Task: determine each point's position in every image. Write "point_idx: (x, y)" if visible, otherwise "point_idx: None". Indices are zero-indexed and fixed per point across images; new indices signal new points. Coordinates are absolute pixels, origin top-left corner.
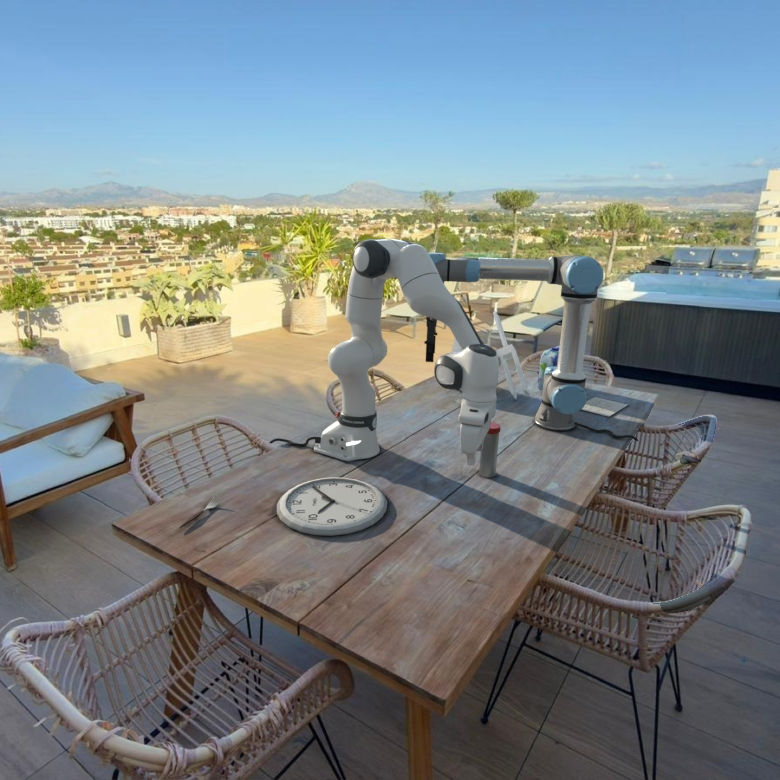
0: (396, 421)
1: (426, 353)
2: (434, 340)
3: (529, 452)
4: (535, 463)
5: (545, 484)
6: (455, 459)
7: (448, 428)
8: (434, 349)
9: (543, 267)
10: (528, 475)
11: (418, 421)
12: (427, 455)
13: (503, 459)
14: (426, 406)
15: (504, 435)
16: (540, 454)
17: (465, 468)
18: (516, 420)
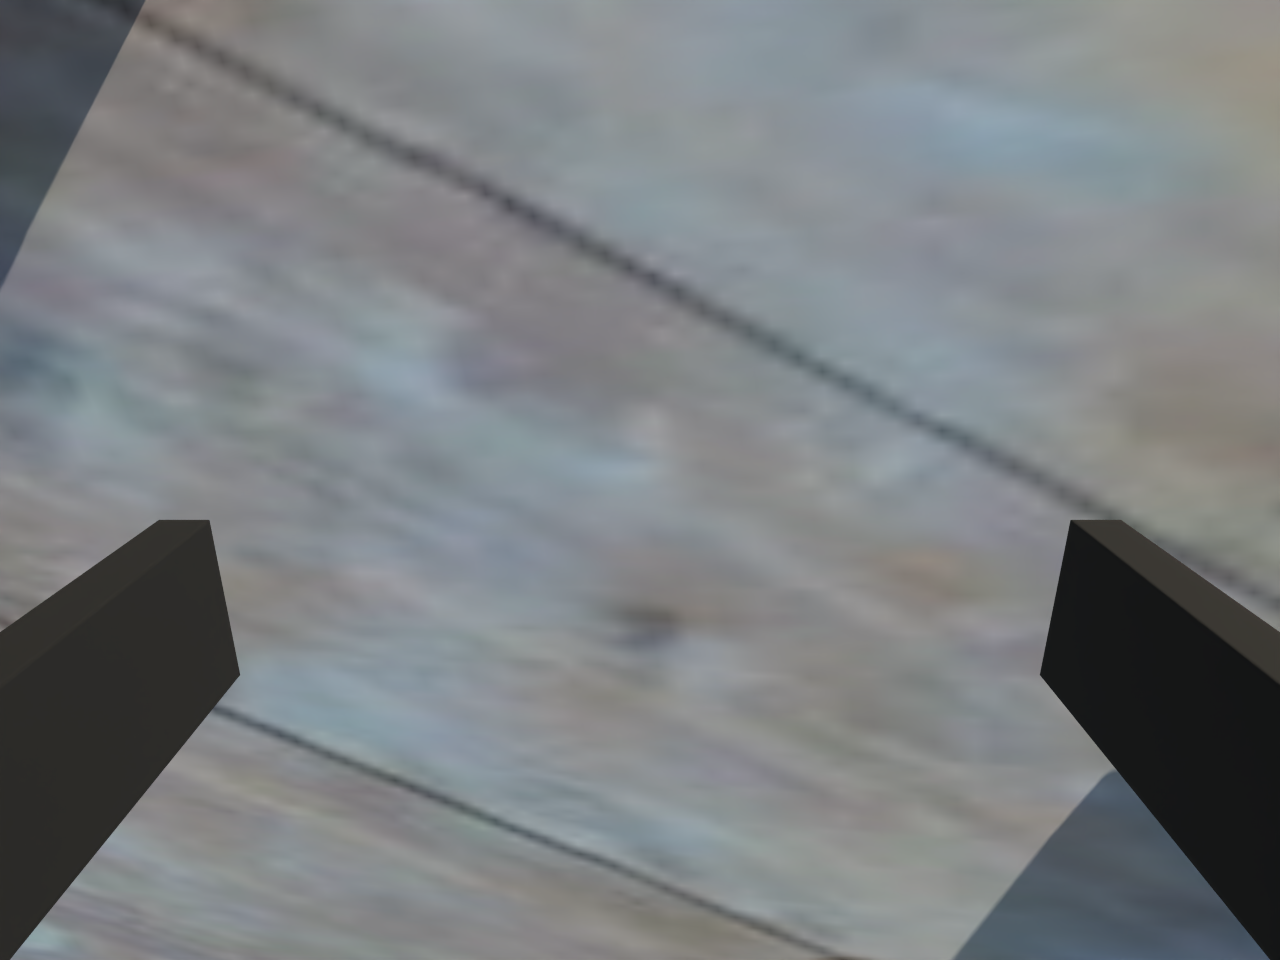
0: (790, 20)
1: (15, 638)
2: (1260, 919)
3: (388, 888)
4: (252, 897)
5: None
6: (152, 519)
7: (682, 471)
8: (1087, 723)
9: None
10: (94, 855)
11: (808, 230)
12: (148, 341)
13: (250, 766)
14: (1199, 278)
15: (613, 796)
16: (377, 929)
17: (47, 573)
18: (884, 876)
